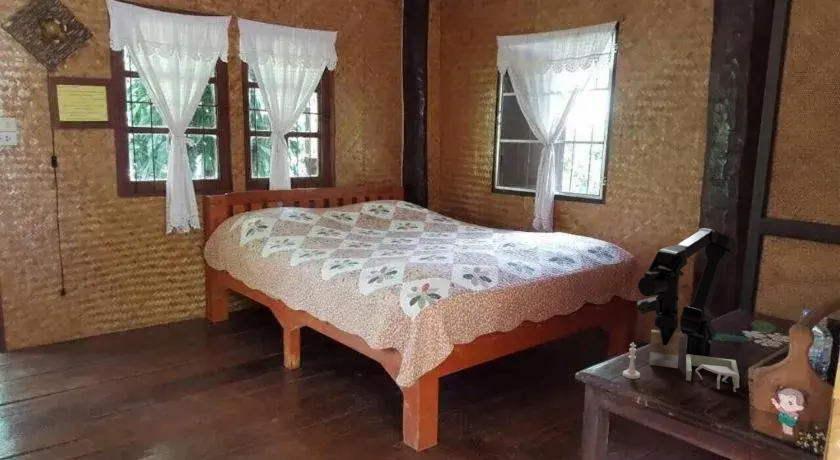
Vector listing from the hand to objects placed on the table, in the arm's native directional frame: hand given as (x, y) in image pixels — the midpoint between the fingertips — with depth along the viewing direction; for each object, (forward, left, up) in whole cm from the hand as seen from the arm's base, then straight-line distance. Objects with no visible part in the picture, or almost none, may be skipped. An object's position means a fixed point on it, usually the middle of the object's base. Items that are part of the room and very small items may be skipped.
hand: (665, 341), depth 188 cm
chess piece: (-9, -12, -8) cm, 16 cm away
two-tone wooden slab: (0, 0, -8) cm, 8 cm away
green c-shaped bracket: (+13, -3, -8) cm, 15 cm away
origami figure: (+14, -9, -8) cm, 19 cm away
